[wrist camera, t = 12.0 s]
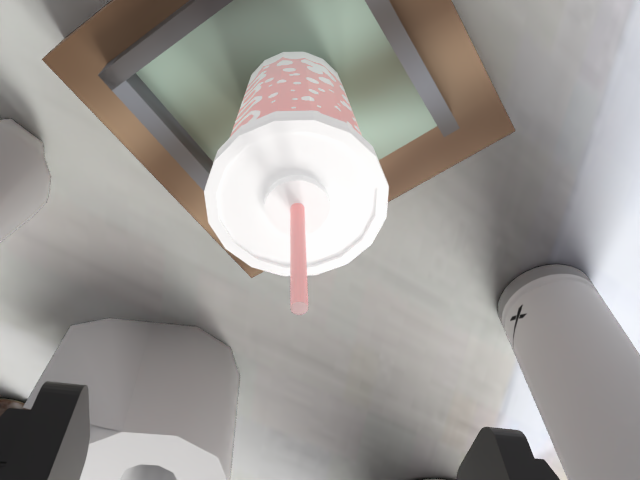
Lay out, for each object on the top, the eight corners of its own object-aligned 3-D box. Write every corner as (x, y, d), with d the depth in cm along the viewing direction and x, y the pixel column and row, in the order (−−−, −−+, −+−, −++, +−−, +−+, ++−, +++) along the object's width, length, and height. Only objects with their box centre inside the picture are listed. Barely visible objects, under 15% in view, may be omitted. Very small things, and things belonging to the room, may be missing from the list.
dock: (497, 106, 30) (525, 144, 27) (254, 246, 35) (249, 295, 31) (348, -191, 23) (360, -195, 19) (64, 38, 27) (28, 71, 24)
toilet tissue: (42, 311, 37) (-16, 421, 30) (246, 331, 39) (236, 440, 32) (54, 401, 42) (7, 513, 35) (234, 415, 44) (223, 524, 37)
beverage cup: (312, 3, 24) (332, 161, 12) (386, 116, 27) (457, 326, 16) (199, 85, 26) (127, 289, 14) (281, 182, 29) (275, 413, 17)
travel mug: (476, 294, 38) (614, 642, 22) (571, 246, 36) (803, 590, 20) (514, 347, 41) (660, 687, 25) (603, 306, 39) (827, 646, 23)
